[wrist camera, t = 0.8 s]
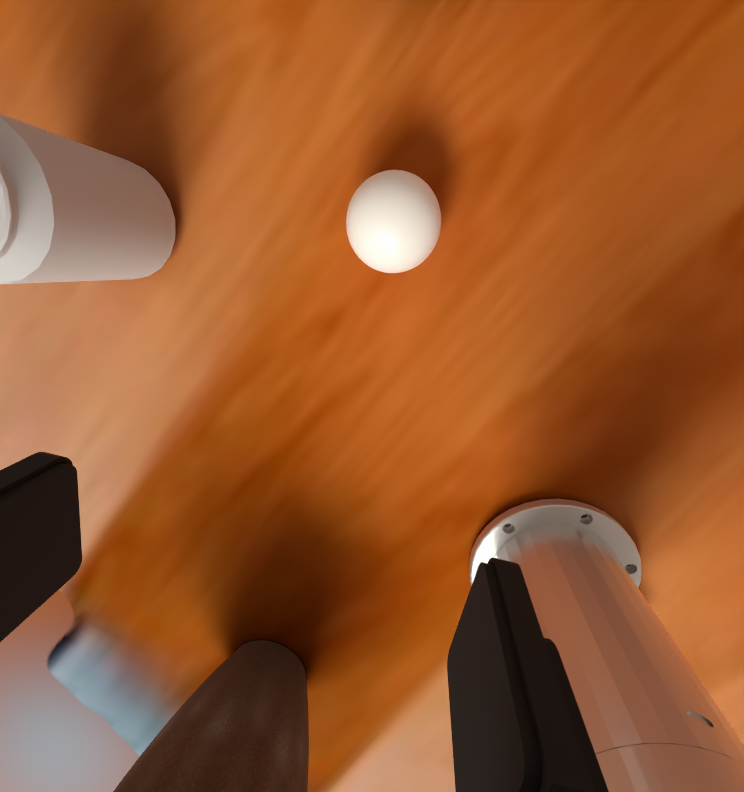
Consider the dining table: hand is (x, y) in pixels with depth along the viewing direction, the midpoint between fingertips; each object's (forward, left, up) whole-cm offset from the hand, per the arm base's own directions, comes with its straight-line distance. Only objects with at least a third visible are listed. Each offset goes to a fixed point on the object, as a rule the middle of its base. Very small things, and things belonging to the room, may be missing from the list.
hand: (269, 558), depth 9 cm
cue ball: (+5, -7, -18) cm, 20 cm away
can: (+18, +6, -21) cm, 29 cm away
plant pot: (-16, +29, -21) cm, 39 cm away
